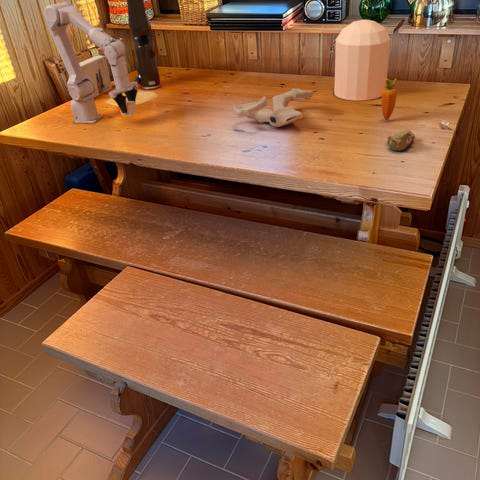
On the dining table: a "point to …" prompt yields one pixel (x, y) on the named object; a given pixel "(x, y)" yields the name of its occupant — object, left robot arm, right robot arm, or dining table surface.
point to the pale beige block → (130, 108)
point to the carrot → (388, 99)
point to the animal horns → (280, 112)
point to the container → (361, 61)
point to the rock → (400, 140)
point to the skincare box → (97, 73)
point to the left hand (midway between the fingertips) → (128, 110)
